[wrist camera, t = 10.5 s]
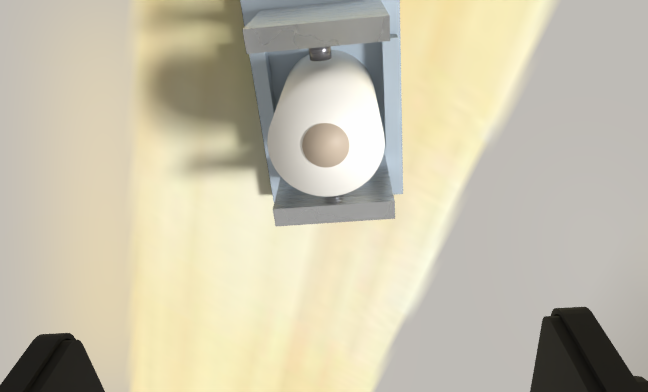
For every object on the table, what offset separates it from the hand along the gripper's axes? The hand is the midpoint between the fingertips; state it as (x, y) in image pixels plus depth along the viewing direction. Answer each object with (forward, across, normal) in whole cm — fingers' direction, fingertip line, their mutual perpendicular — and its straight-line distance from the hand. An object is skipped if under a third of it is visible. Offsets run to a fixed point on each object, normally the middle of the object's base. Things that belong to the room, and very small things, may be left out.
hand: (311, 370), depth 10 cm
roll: (+19, 0, 0) cm, 19 cm away
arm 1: (+19, 0, -4) cm, 20 cm away
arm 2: (+19, 0, +5) cm, 20 cm away
